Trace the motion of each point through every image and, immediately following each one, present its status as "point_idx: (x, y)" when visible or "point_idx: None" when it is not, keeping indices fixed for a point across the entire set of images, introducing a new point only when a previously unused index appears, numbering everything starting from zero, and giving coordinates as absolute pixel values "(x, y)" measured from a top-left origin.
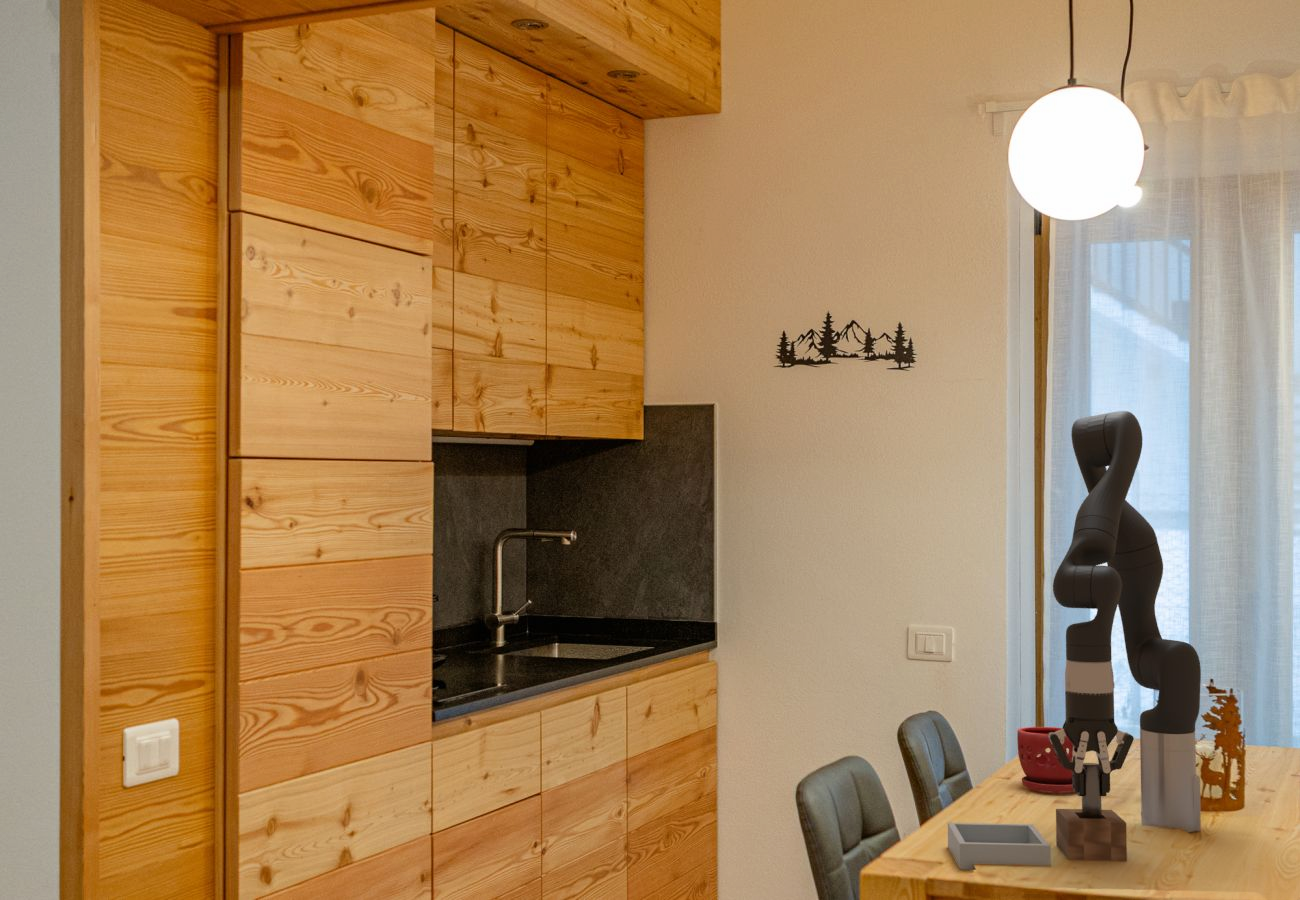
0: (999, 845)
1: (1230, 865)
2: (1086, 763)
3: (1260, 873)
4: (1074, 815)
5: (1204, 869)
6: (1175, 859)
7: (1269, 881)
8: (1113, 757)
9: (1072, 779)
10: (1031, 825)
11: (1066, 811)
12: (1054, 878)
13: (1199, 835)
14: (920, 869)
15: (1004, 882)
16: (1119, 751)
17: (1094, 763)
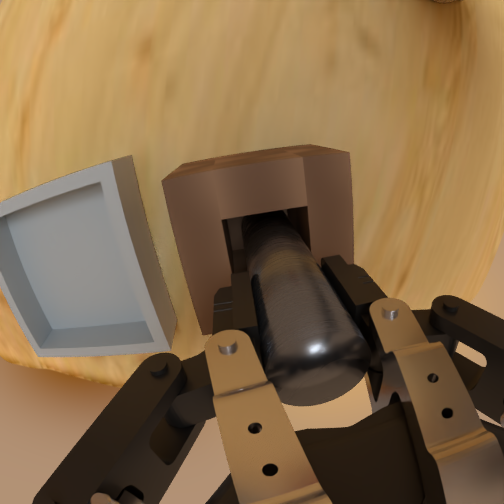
0: (87, 355)
1: (470, 202)
2: (301, 355)
3: (482, 239)
4: (220, 265)
5: (435, 235)
6: (415, 177)
7: (474, 275)
8: (459, 339)
9: (213, 317)
10: (108, 175)
11: (196, 213)
12: (186, 350)
13: (460, 16)
14: (20, 336)
15: (123, 376)
16: (475, 401)
17: (350, 341)
